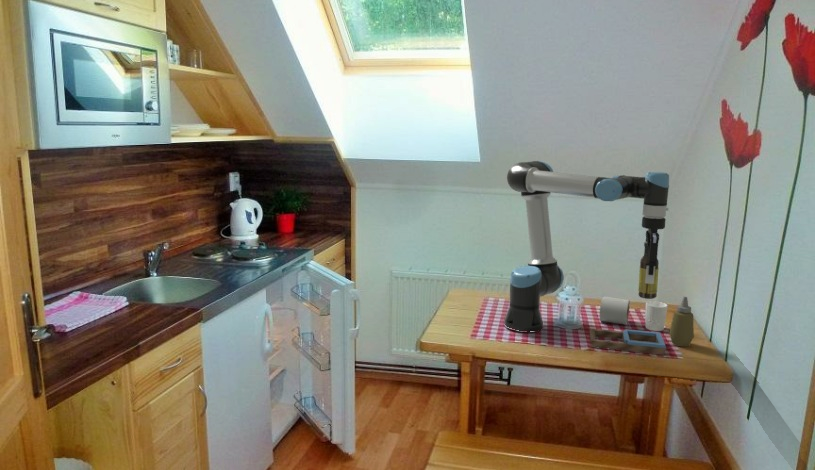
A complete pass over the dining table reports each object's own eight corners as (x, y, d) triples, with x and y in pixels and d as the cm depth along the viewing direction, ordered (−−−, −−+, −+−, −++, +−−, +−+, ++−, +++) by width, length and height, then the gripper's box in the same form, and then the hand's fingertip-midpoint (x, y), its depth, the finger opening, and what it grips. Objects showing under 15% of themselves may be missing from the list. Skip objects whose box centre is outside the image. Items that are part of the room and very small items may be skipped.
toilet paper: (628, 320, 240) (630, 297, 238) (625, 328, 232) (627, 303, 230) (603, 316, 245) (604, 293, 243) (598, 324, 236) (600, 300, 234)
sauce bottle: (657, 296, 210) (662, 241, 206) (655, 300, 205) (660, 244, 201) (638, 293, 214) (643, 239, 210) (635, 297, 208) (640, 242, 204)
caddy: (590, 347, 211) (591, 337, 211) (589, 334, 224) (590, 325, 223) (664, 354, 205) (665, 345, 204) (659, 341, 217) (660, 332, 217)
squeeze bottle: (689, 341, 218) (694, 294, 215) (695, 349, 210) (700, 301, 207) (666, 339, 220) (671, 293, 216) (670, 347, 212) (675, 299, 209)
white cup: (667, 332, 227) (669, 307, 225) (645, 331, 228) (647, 306, 227) (662, 325, 234) (665, 301, 233) (641, 324, 236) (644, 300, 234)
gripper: (670, 221, 194) (663, 289, 198) (661, 213, 212) (655, 275, 216) (645, 220, 196) (639, 287, 200) (639, 212, 214) (634, 273, 218)
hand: (648, 280), depth 208 cm, fingers closed on sauce bottle, 6 cm apart
